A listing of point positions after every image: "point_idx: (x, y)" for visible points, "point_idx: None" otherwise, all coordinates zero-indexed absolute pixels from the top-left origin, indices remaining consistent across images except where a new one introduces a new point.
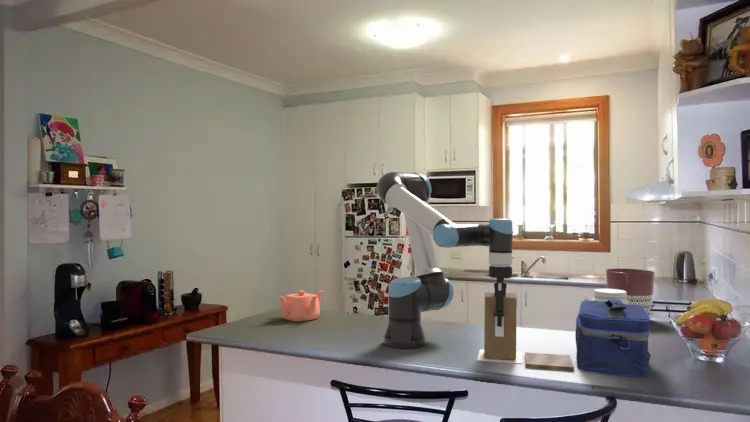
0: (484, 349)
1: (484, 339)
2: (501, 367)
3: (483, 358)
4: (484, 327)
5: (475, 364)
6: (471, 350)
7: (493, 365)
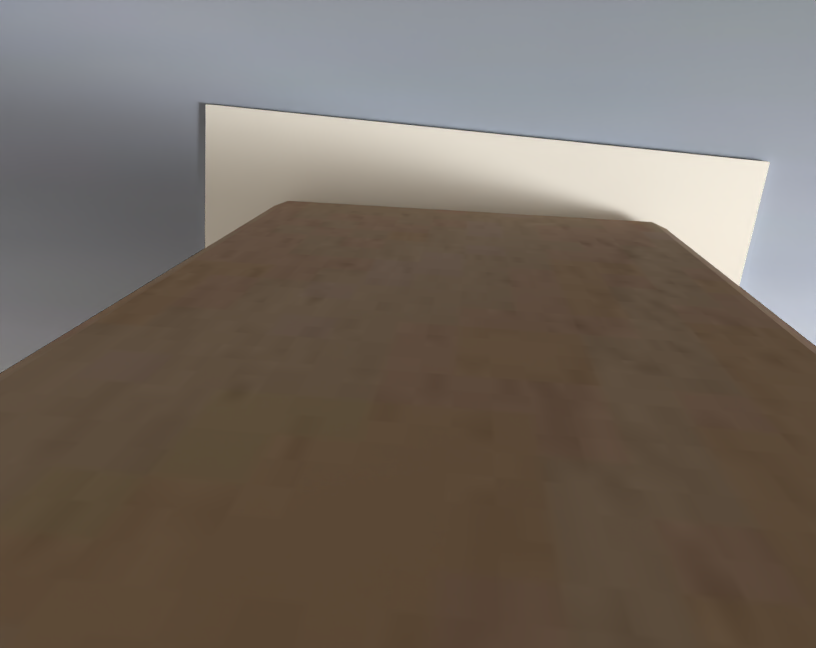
0: (256, 219)
1: (206, 250)
2: (21, 359)
3: (293, 188)
4: (110, 313)
5: (43, 78)
6: (732, 33)
7: (68, 284)
